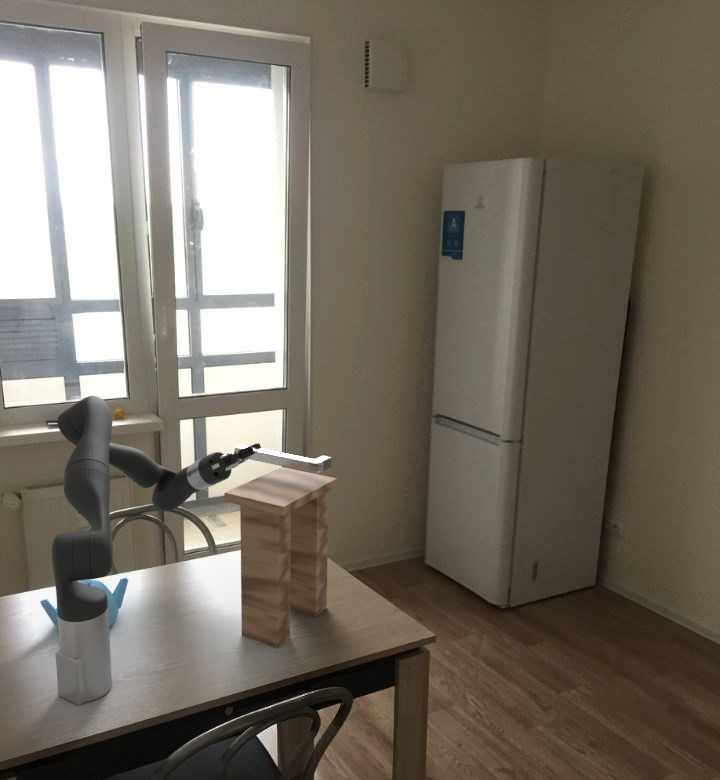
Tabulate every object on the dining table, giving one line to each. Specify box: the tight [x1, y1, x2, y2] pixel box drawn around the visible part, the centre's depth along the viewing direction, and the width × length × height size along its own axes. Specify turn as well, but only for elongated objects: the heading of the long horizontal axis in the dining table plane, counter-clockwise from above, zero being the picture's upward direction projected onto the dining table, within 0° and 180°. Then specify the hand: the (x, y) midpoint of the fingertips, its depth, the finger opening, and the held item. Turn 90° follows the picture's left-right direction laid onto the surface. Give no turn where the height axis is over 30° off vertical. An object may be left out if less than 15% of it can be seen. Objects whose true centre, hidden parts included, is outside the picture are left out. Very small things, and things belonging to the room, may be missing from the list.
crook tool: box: [234, 444, 332, 475], centre depth 170 cm, size 6×24×2 cm, turn 61°
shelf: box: [224, 466, 338, 649], centre depth 166 cm, size 22×16×34 cm
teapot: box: [39, 577, 129, 629], centre depth 165 cm, size 15×15×11 cm
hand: (255, 448), depth 171 cm, fingers closed on crook tool, 2 cm apart
